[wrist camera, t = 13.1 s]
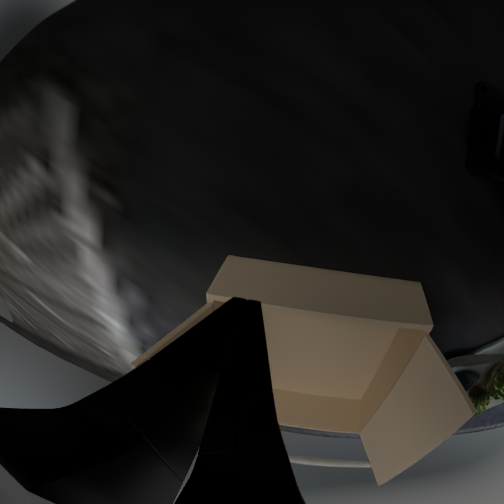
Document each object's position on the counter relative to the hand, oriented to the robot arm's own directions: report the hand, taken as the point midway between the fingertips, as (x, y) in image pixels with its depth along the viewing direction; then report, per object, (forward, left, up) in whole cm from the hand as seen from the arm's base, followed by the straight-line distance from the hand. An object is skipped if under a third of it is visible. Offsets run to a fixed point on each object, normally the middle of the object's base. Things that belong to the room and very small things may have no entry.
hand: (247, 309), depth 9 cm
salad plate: (-26, +20, -14) cm, 35 cm away
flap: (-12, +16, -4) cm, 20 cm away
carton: (-3, +16, -13) cm, 21 cm away
